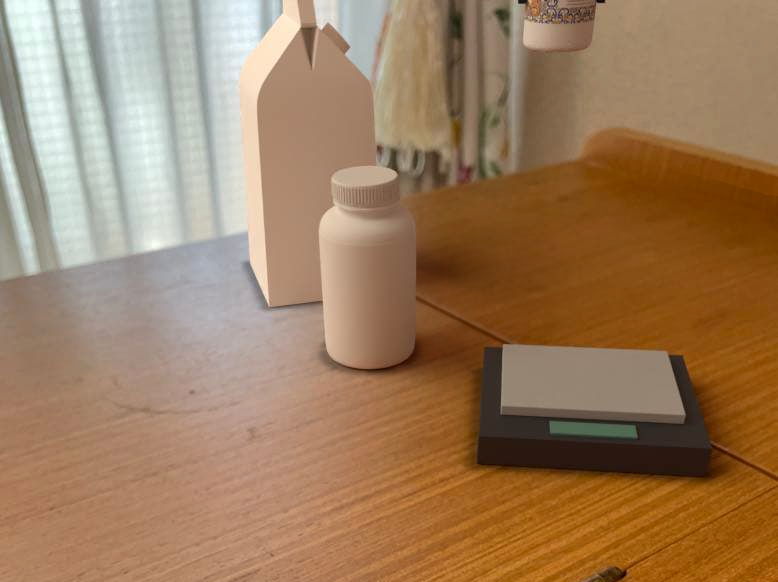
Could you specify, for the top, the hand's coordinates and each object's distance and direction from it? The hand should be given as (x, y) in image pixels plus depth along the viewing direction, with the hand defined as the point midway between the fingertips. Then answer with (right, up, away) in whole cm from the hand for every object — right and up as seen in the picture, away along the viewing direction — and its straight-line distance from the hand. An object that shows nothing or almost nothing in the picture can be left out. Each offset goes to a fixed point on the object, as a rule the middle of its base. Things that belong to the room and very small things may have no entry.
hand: (560, 1), depth 87 cm
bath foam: (0, -3, +3) cm, 4 cm away
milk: (-25, -27, +4) cm, 37 cm away
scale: (-2, -44, -19) cm, 48 cm away
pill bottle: (-19, -37, -9) cm, 43 cm away
